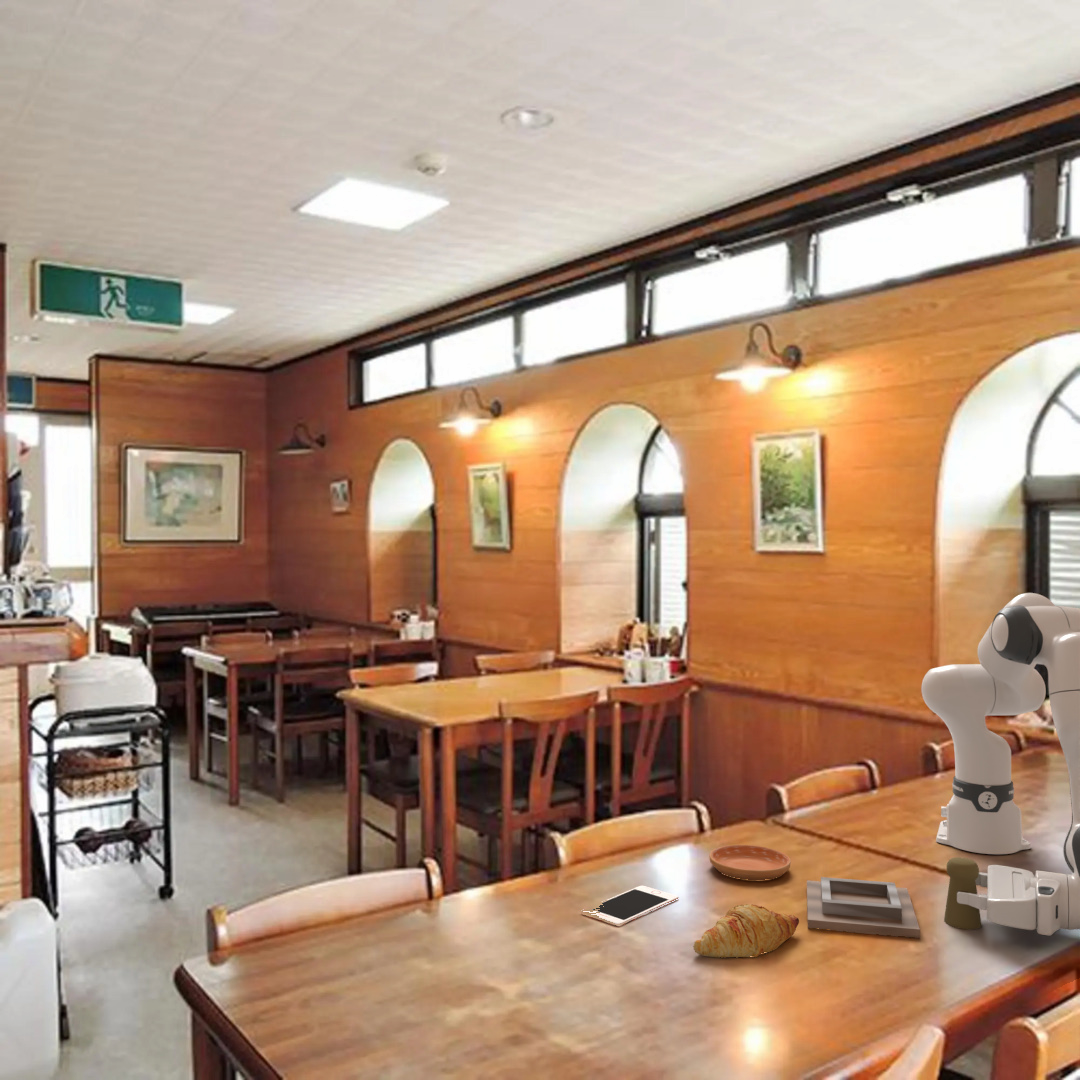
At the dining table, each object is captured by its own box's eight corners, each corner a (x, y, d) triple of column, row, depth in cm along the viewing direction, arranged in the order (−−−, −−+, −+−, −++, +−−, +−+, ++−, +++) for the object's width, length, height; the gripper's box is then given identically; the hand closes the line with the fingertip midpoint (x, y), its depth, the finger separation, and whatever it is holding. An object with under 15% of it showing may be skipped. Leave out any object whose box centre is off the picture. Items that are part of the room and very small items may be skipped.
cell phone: (679, 901, 187) (679, 896, 187) (618, 929, 174) (618, 924, 174) (641, 889, 193) (641, 884, 193) (579, 916, 180) (579, 910, 180)
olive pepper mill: (985, 930, 171) (985, 866, 171) (947, 928, 172) (947, 863, 172) (977, 917, 177) (977, 854, 177) (941, 914, 178) (940, 852, 178)
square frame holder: (806, 888, 192) (806, 869, 192) (907, 896, 187) (907, 877, 187) (807, 928, 173) (807, 907, 172) (919, 938, 168) (919, 917, 168)
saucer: (797, 864, 206) (797, 850, 206) (781, 890, 192) (781, 874, 192) (720, 854, 213) (720, 840, 213) (699, 878, 198) (699, 863, 198)
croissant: (706, 988, 158) (720, 952, 155) (671, 938, 166) (684, 903, 162) (807, 957, 168) (823, 922, 165) (770, 911, 176) (784, 877, 173)
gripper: (1044, 861, 179) (959, 851, 185) (1050, 900, 160) (955, 888, 166) (1044, 897, 179) (959, 886, 185) (1050, 940, 160) (955, 926, 166)
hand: (957, 887), depth 175 cm, fingers open, 8 cm apart
